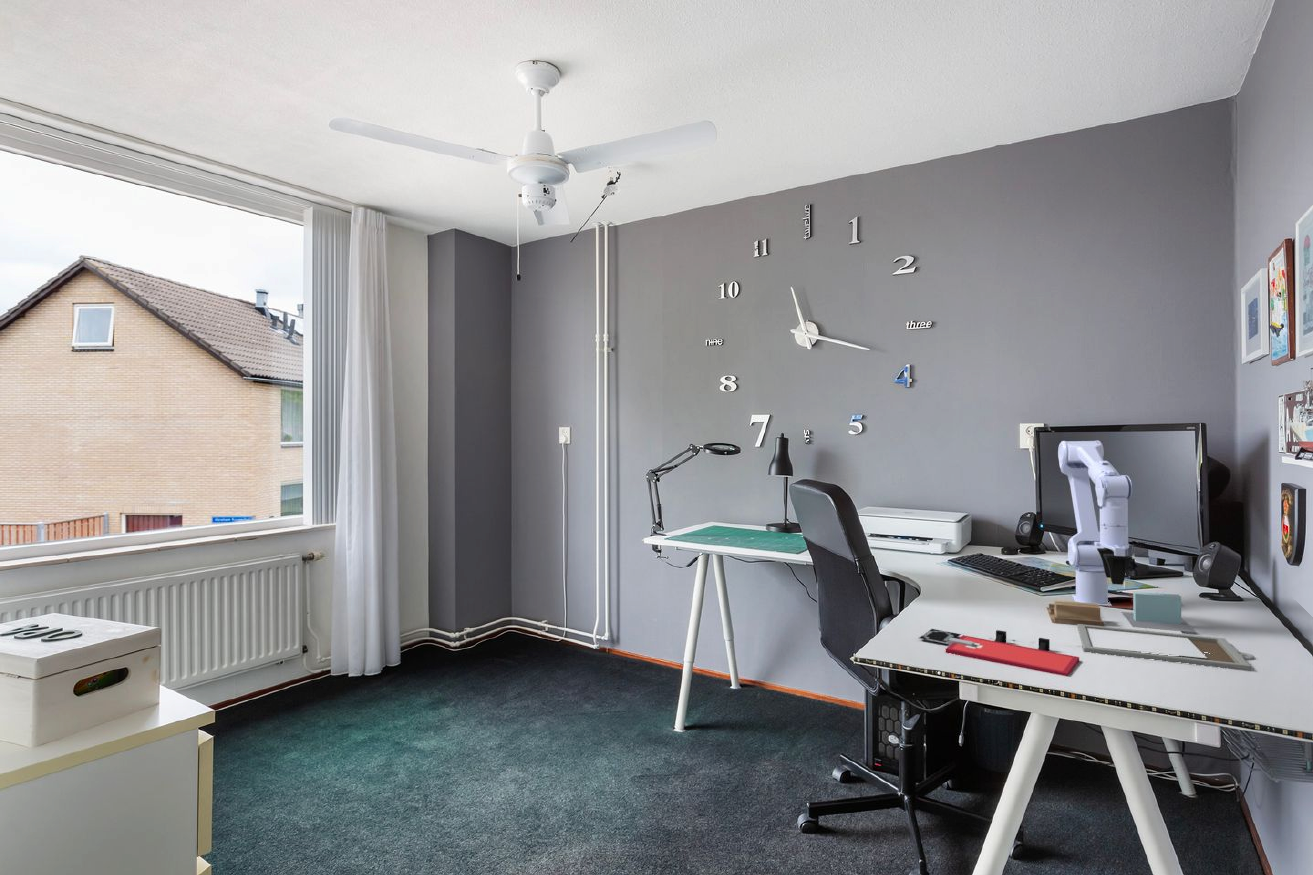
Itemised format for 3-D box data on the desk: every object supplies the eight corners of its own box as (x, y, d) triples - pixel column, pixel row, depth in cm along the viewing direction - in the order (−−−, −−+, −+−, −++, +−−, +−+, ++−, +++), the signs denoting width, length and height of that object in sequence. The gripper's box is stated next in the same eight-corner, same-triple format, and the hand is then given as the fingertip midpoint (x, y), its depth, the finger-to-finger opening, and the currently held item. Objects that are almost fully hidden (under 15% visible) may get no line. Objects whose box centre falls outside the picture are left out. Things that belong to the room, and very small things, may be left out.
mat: (1121, 613, 172) (1121, 611, 172) (1180, 618, 167) (1180, 616, 167) (1132, 628, 160) (1132, 626, 160) (1196, 634, 154) (1196, 632, 154)
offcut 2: (1055, 619, 167) (1055, 602, 167) (1099, 622, 163) (1098, 605, 163) (1056, 621, 165) (1056, 604, 165) (1100, 624, 161) (1100, 608, 161)
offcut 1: (1054, 616, 169) (1054, 600, 169) (1097, 620, 165) (1097, 603, 165) (1055, 618, 167) (1055, 602, 167) (1098, 622, 164) (1098, 605, 164)
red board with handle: (934, 630, 162) (910, 647, 150) (934, 618, 162) (910, 635, 150) (1082, 658, 142) (1067, 680, 131) (1082, 645, 142) (1067, 666, 130)
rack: (1046, 609, 178) (1046, 602, 178) (1096, 613, 173) (1096, 606, 173) (1052, 624, 164) (1052, 617, 164) (1107, 629, 159) (1107, 622, 159)
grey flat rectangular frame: (1076, 623, 161) (1240, 639, 147) (1076, 630, 161) (1240, 647, 147) (1083, 647, 144) (1269, 667, 130) (1083, 654, 144) (1269, 676, 130)
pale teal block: (1133, 618, 166) (1133, 591, 166) (1178, 622, 163) (1178, 594, 162) (1135, 620, 164) (1135, 593, 164) (1181, 624, 161) (1181, 596, 161)
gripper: (1089, 520, 176) (1090, 573, 176) (1099, 528, 163) (1100, 585, 163) (1122, 521, 173) (1123, 575, 173) (1135, 529, 160) (1136, 588, 160)
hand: (1114, 580), depth 168 cm, fingers open, 7 cm apart
